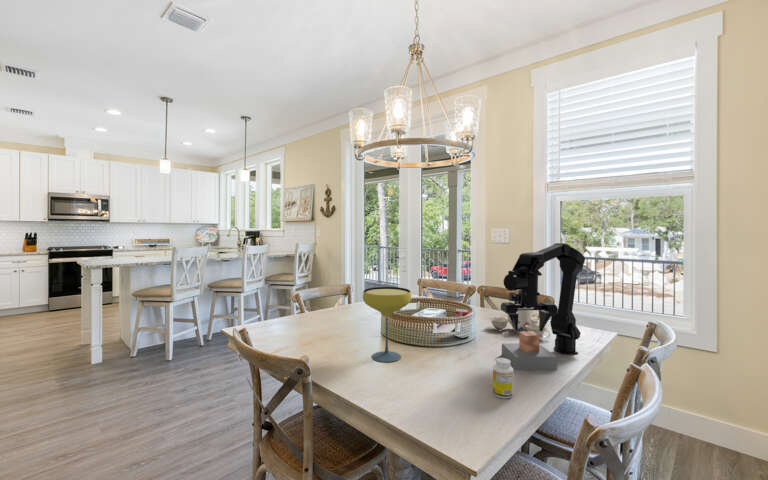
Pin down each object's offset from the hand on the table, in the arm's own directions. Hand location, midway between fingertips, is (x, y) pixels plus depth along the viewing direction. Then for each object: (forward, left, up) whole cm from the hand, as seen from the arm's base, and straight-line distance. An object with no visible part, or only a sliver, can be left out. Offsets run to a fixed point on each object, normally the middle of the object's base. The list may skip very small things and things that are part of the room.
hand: (528, 331), depth 126 cm
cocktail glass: (+51, -7, -12) cm, 53 cm away
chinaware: (-13, -36, -12) cm, 40 cm away
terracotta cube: (0, 0, -7) cm, 7 cm away
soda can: (+16, -30, -12) cm, 36 cm away
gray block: (0, 0, -12) cm, 12 cm away
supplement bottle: (+19, +24, -12) cm, 33 cm away
